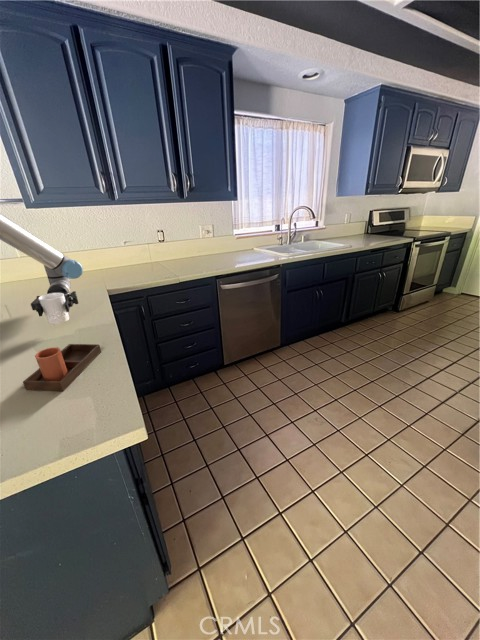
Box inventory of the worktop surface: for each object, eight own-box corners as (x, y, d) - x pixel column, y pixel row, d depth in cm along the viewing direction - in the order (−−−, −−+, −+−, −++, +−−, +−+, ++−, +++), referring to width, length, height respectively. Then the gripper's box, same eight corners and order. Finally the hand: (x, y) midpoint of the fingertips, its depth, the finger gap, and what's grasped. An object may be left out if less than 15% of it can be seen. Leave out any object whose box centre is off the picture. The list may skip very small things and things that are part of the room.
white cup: (74, 315, 105) (67, 292, 101) (66, 324, 98) (58, 299, 94) (52, 317, 104) (44, 293, 100) (42, 326, 97) (33, 300, 93)
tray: (26, 390, 72) (22, 381, 71) (71, 351, 91) (69, 343, 89) (63, 391, 72) (60, 382, 71) (101, 352, 90) (99, 344, 89)
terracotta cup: (40, 385, 74) (29, 358, 70) (54, 372, 80) (45, 347, 76) (60, 385, 74) (50, 358, 70) (73, 373, 79) (64, 347, 76)
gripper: (87, 296, 119) (88, 314, 100) (32, 304, 110) (21, 325, 92) (83, 280, 116) (83, 296, 97) (26, 287, 107) (13, 305, 89)
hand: (53, 310), depth 94 cm, fingers closed on white cup, 8 cm apart
